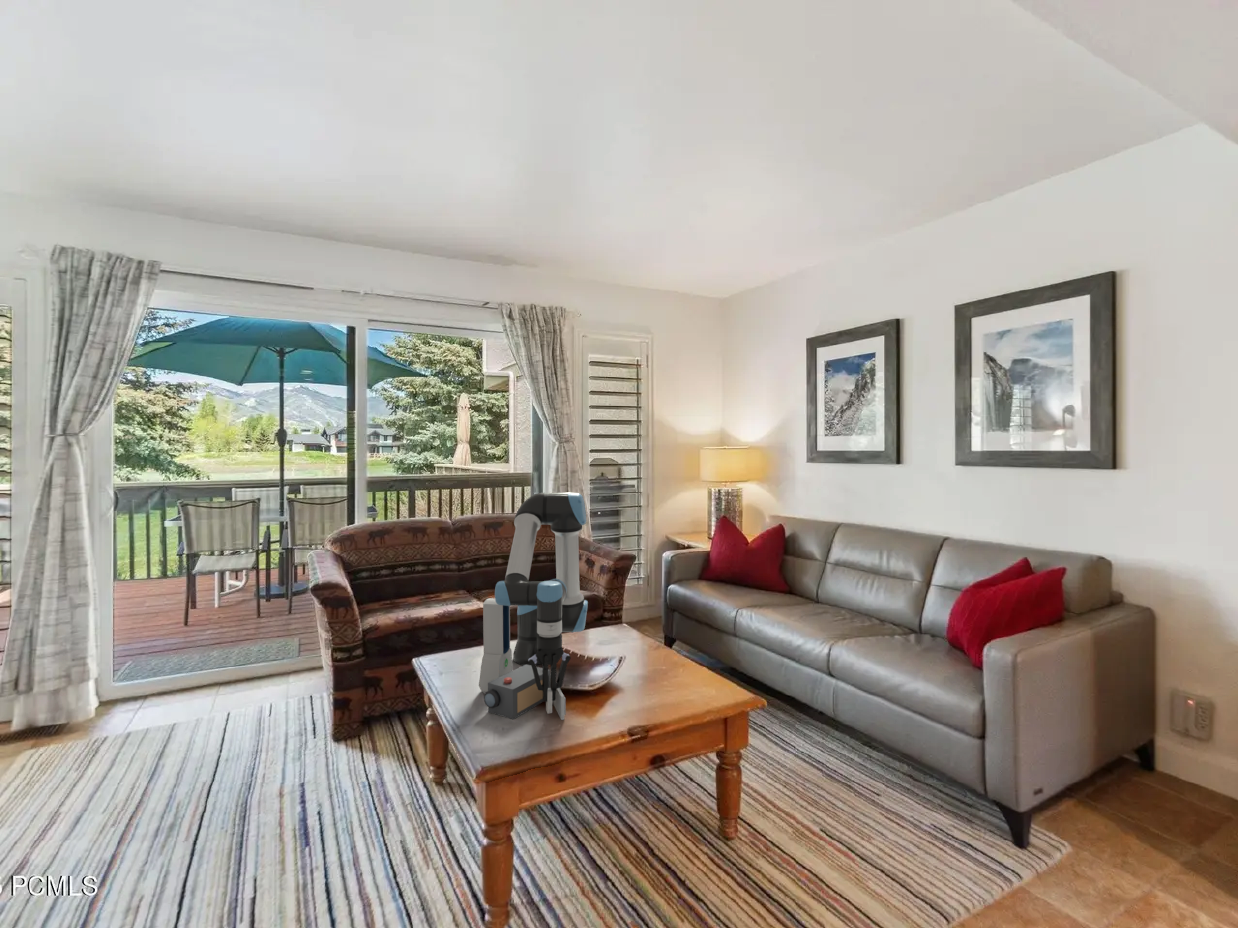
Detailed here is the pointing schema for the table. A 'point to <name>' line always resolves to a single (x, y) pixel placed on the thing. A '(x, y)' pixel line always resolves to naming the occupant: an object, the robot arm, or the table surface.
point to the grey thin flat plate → (559, 701)
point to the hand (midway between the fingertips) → (549, 711)
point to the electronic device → (495, 643)
